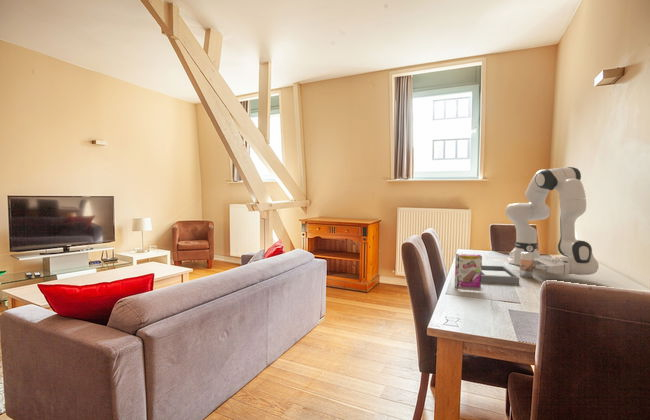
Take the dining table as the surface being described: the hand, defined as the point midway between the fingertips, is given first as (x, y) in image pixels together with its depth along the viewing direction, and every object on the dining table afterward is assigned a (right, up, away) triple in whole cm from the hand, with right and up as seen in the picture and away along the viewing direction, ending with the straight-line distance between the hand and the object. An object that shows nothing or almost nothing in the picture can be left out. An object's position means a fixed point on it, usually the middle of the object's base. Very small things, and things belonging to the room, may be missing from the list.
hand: (531, 264), depth 177 cm
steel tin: (-2, -8, +1) cm, 8 cm away
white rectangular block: (-22, -7, -5) cm, 24 cm away
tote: (-21, -8, 0) cm, 22 cm away
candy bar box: (-41, -9, -15) cm, 44 cm away
